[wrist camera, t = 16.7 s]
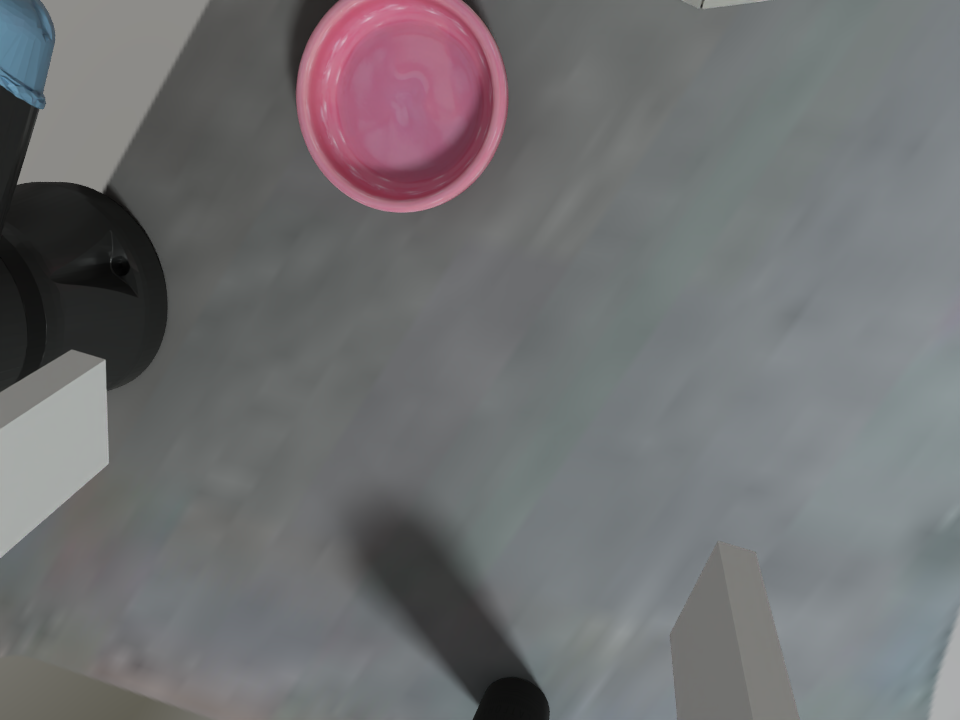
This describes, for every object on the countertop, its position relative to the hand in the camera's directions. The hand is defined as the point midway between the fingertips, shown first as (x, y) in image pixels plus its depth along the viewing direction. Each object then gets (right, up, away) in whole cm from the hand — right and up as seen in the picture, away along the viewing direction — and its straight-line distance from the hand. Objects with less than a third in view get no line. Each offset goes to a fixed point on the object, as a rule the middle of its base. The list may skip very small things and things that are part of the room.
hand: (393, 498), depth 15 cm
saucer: (-2, +18, +27) cm, 33 cm away
